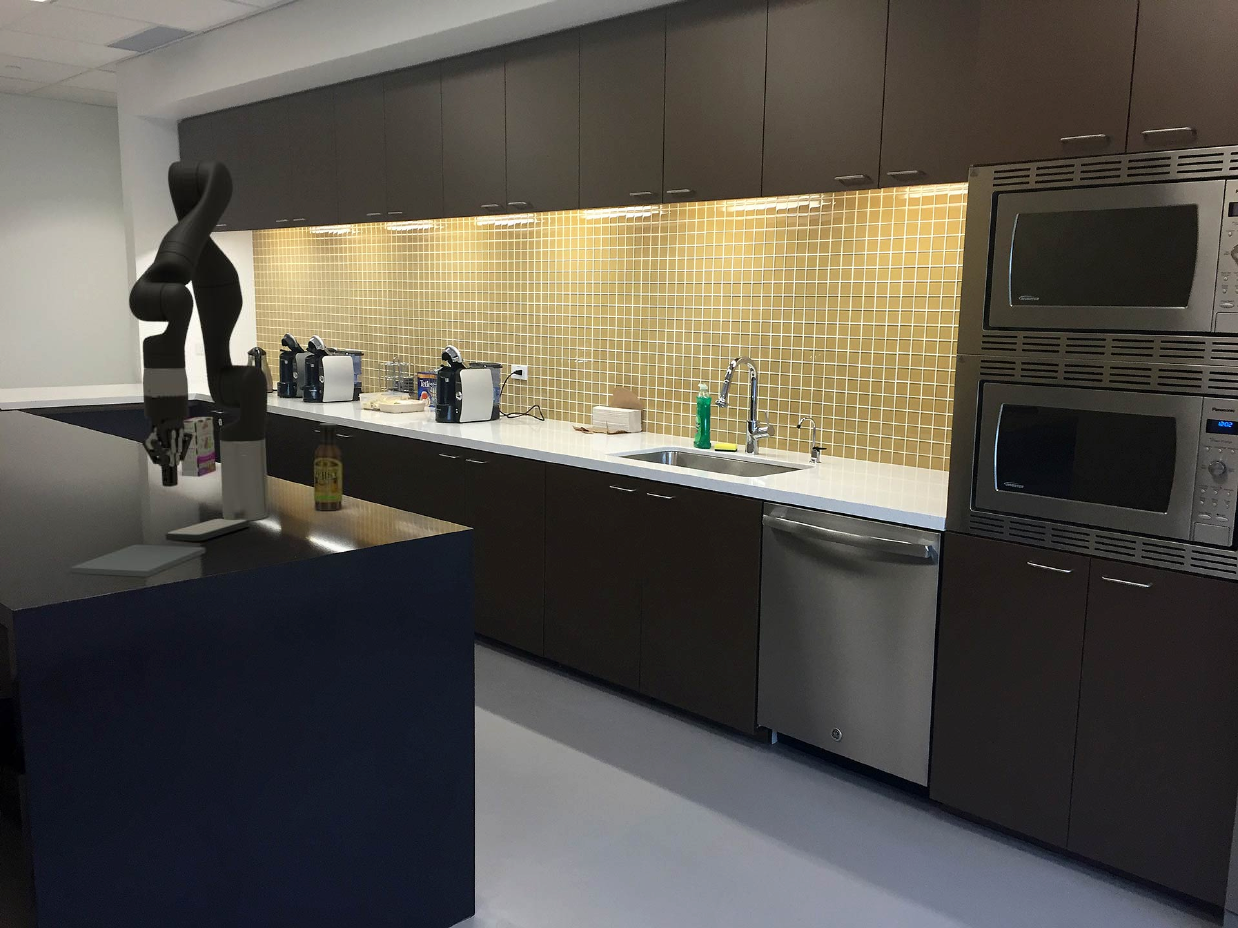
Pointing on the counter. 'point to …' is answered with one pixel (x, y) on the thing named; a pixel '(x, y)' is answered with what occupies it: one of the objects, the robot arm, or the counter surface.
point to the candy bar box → (199, 447)
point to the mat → (138, 560)
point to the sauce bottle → (328, 469)
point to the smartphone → (207, 530)
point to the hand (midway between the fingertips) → (170, 485)
